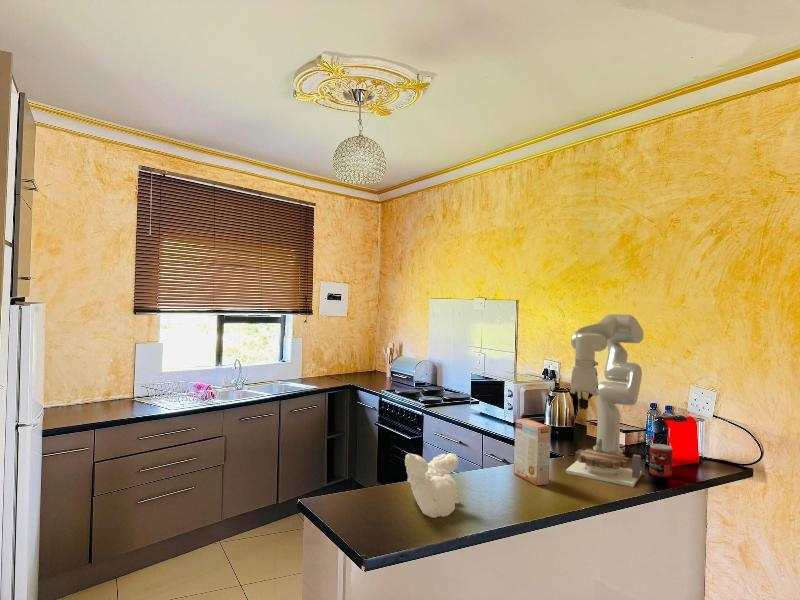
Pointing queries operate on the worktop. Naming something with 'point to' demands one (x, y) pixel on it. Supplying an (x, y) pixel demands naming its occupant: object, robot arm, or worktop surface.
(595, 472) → the stand
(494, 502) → the worktop surface
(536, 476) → the cracker box
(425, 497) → the white lumpy piece
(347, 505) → the worktop surface
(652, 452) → the canned food
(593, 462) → the sprocket
